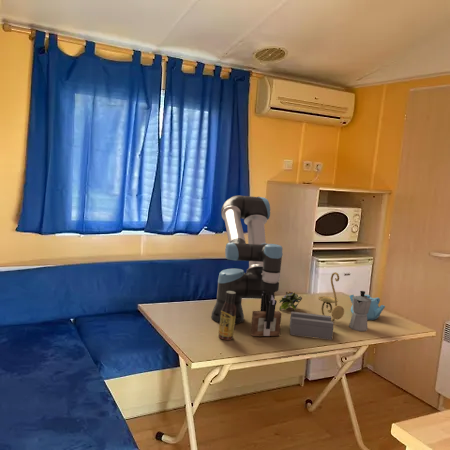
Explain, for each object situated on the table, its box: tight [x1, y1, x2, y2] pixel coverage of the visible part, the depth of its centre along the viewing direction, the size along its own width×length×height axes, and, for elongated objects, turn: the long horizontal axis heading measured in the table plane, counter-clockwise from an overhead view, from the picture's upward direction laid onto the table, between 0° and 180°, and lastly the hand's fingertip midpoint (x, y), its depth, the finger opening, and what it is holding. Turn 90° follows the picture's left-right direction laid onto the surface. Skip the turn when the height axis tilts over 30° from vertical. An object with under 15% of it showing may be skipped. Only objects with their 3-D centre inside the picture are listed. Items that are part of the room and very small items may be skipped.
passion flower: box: [278, 291, 303, 312], centre depth 234 cm, size 11×11×12 cm
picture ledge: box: [289, 311, 335, 341], centre depth 204 cm, size 18×12×7 cm, turn 84°
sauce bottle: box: [218, 291, 236, 341], centre depth 188 cm, size 7×6×20 cm
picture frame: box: [250, 310, 282, 337], centre depth 195 cm, size 12×3×10 cm, turn 104°
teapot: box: [349, 294, 386, 321], centre depth 235 cm, size 15×17×11 cm
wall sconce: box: [318, 272, 345, 323], centre depth 220 cm, size 14×10×25 cm
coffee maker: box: [348, 290, 371, 332], centre depth 216 cm, size 15×9×18 cm, turn 151°
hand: (264, 333), depth 196 cm, fingers closed on picture frame, 3 cm apart
